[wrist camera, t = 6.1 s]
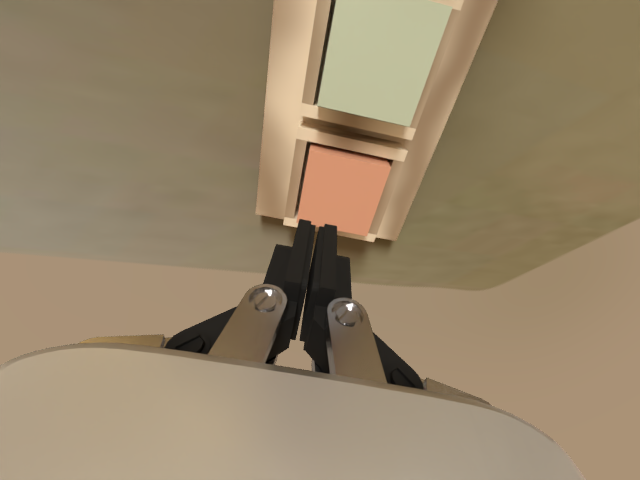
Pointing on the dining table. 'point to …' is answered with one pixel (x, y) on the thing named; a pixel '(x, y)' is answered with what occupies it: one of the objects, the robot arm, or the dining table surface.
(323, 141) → the button panel
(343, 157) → the terracotta button
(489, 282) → the dining table surface
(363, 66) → the sage button
